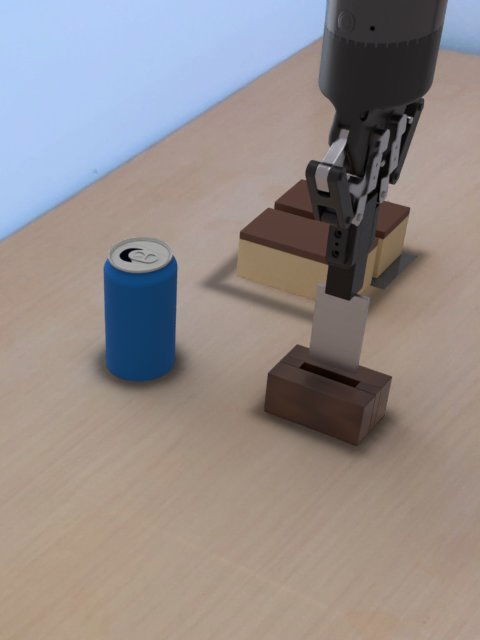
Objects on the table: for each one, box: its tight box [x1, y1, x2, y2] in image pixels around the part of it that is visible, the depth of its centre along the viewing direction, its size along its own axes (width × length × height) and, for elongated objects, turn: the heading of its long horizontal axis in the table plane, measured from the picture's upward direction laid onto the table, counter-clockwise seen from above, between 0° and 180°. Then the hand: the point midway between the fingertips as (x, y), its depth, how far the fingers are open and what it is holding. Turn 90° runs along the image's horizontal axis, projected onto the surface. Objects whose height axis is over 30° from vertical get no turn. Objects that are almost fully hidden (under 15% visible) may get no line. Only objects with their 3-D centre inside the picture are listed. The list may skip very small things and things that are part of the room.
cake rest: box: [273, 178, 411, 278], centre depth 111 cm, size 12×5×5 cm, turn 50°
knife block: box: [263, 343, 393, 447], centre depth 95 cm, size 9×5×5 cm, turn 50°
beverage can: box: [103, 236, 179, 382], centre depth 100 cm, size 6×6×12 cm
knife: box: [308, 191, 378, 374], centre depth 87 cm, size 4×2×15 cm, turn 50°
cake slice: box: [236, 207, 379, 301], centre depth 108 cm, size 12×5×5 cm, turn 50°
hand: (349, 255), depth 85 cm, fingers closed on knife, 2 cm apart
